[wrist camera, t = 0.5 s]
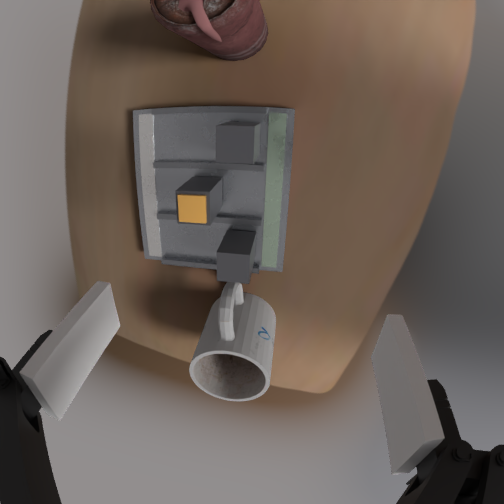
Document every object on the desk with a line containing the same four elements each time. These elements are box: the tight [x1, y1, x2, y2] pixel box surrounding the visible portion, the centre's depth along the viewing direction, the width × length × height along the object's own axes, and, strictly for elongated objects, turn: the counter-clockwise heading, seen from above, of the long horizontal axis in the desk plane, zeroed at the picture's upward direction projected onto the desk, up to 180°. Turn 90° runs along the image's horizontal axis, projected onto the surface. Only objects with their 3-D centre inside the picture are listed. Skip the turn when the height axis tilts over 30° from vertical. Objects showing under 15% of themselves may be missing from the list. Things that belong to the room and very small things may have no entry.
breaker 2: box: [216, 230, 256, 284], centre depth 30 cm, size 3×3×5 cm
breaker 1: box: [216, 122, 261, 164], centre depth 25 cm, size 3×3×5 cm
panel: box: [133, 106, 295, 274], centre depth 30 cm, size 17×16×2 cm
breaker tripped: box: [175, 177, 222, 226], centre depth 28 cm, size 3×3×5 cm
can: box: [150, 0, 268, 61], centre depth 18 cm, size 6×6×14 cm
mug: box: [189, 282, 276, 401], centre depth 34 cm, size 12×9×10 cm
